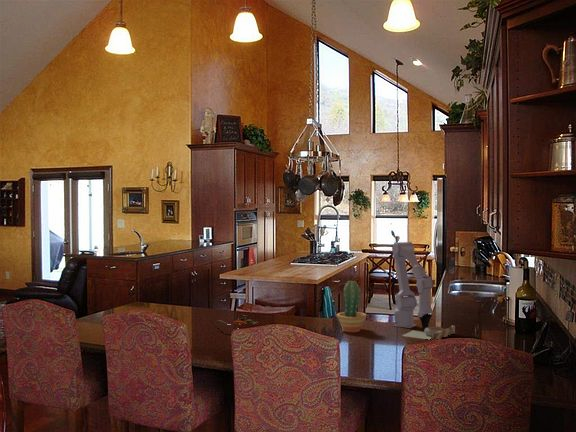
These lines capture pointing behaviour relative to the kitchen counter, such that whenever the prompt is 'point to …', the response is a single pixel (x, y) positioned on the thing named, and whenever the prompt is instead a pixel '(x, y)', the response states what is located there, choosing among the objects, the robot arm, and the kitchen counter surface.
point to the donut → (432, 330)
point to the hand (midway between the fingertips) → (425, 329)
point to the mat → (417, 335)
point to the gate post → (453, 329)
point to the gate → (442, 333)
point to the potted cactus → (351, 309)
